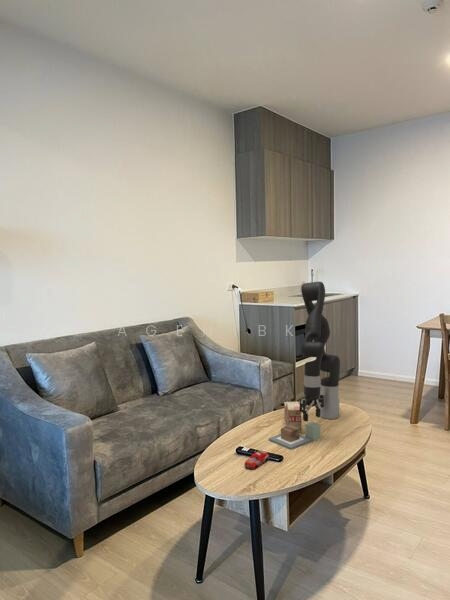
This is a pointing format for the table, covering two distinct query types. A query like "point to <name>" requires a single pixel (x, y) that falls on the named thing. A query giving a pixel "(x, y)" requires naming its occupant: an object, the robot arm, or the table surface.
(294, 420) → the stack of blocks
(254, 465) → the race car
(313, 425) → the sage block
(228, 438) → the table surface
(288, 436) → the board
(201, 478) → the table surface
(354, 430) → the table surface
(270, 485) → the table surface
